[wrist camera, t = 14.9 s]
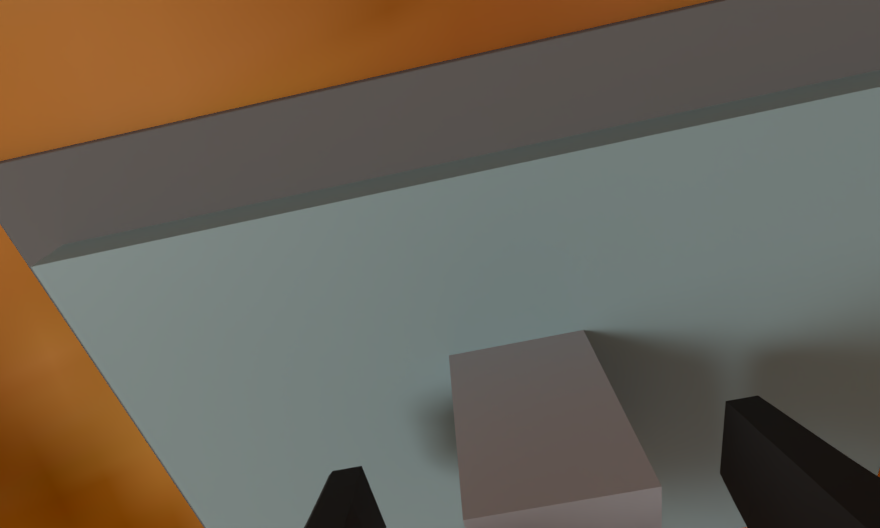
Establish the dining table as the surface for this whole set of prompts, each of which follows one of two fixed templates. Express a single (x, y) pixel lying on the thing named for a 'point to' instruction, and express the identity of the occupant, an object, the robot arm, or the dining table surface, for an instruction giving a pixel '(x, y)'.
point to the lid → (509, 322)
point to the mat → (432, 117)
